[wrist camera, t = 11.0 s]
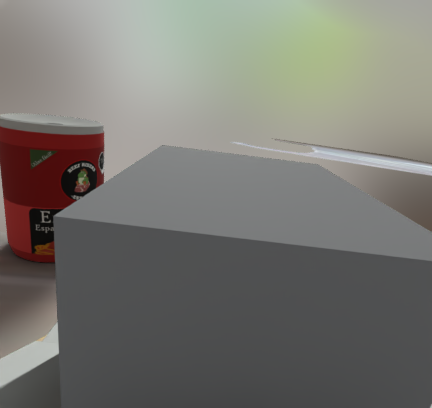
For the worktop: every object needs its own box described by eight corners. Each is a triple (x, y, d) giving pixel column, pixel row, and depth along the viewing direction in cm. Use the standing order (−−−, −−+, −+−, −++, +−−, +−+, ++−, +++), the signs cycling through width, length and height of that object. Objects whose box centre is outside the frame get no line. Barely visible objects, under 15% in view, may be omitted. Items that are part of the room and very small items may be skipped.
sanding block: (297, 709, 6) (490, 268, 3) (72, 689, 6) (54, 215, 3) (260, 419, 12) (317, 164, 9) (144, 406, 12) (162, 144, 9)
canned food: (35, 275, 23) (26, 124, 20) (-9, 240, 27) (-23, 110, 24) (121, 246, 29) (124, 126, 26) (74, 220, 33) (71, 115, 30)
